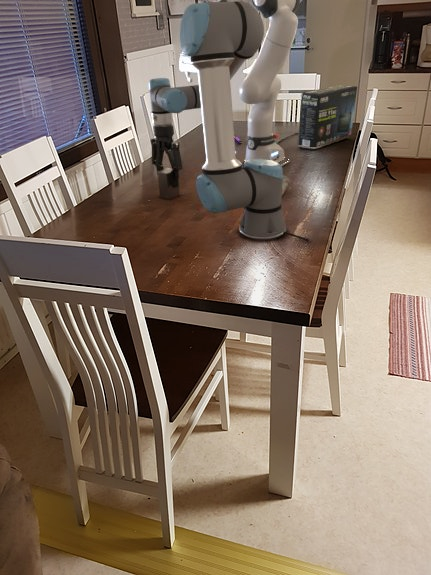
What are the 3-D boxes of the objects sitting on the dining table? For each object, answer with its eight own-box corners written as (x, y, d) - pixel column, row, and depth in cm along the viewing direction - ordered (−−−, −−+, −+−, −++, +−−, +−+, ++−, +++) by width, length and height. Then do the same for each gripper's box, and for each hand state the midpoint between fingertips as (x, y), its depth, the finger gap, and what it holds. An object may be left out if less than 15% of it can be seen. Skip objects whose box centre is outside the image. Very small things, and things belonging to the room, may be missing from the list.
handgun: (221, 137, 264) (220, 133, 263) (234, 136, 265) (233, 132, 264) (228, 145, 247) (228, 142, 246) (242, 144, 248) (242, 140, 247)
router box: (314, 151, 231) (318, 94, 217) (296, 148, 237) (299, 92, 224) (352, 138, 251) (358, 85, 238) (335, 135, 258) (340, 83, 245)
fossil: (280, 191, 170) (252, 165, 174) (264, 213, 177) (237, 187, 180) (300, 185, 184) (274, 161, 187) (284, 206, 191) (259, 182, 194)
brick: (159, 196, 182) (157, 171, 177) (170, 192, 186) (168, 167, 180) (168, 199, 179) (166, 173, 174) (179, 195, 183) (177, 169, 177)
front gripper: (137, 123, 172) (144, 182, 184) (174, 129, 160) (179, 192, 172) (152, 119, 177) (158, 177, 188) (189, 125, 165) (193, 187, 176)
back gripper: (175, 51, 220) (177, 82, 227) (205, 52, 208) (207, 85, 215) (184, 50, 224) (186, 80, 231) (215, 50, 212) (216, 83, 219)
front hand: (168, 184), depth 180 cm, fingers open, 7 cm apart
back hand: (196, 82), depth 223 cm, fingers open, 8 cm apart
